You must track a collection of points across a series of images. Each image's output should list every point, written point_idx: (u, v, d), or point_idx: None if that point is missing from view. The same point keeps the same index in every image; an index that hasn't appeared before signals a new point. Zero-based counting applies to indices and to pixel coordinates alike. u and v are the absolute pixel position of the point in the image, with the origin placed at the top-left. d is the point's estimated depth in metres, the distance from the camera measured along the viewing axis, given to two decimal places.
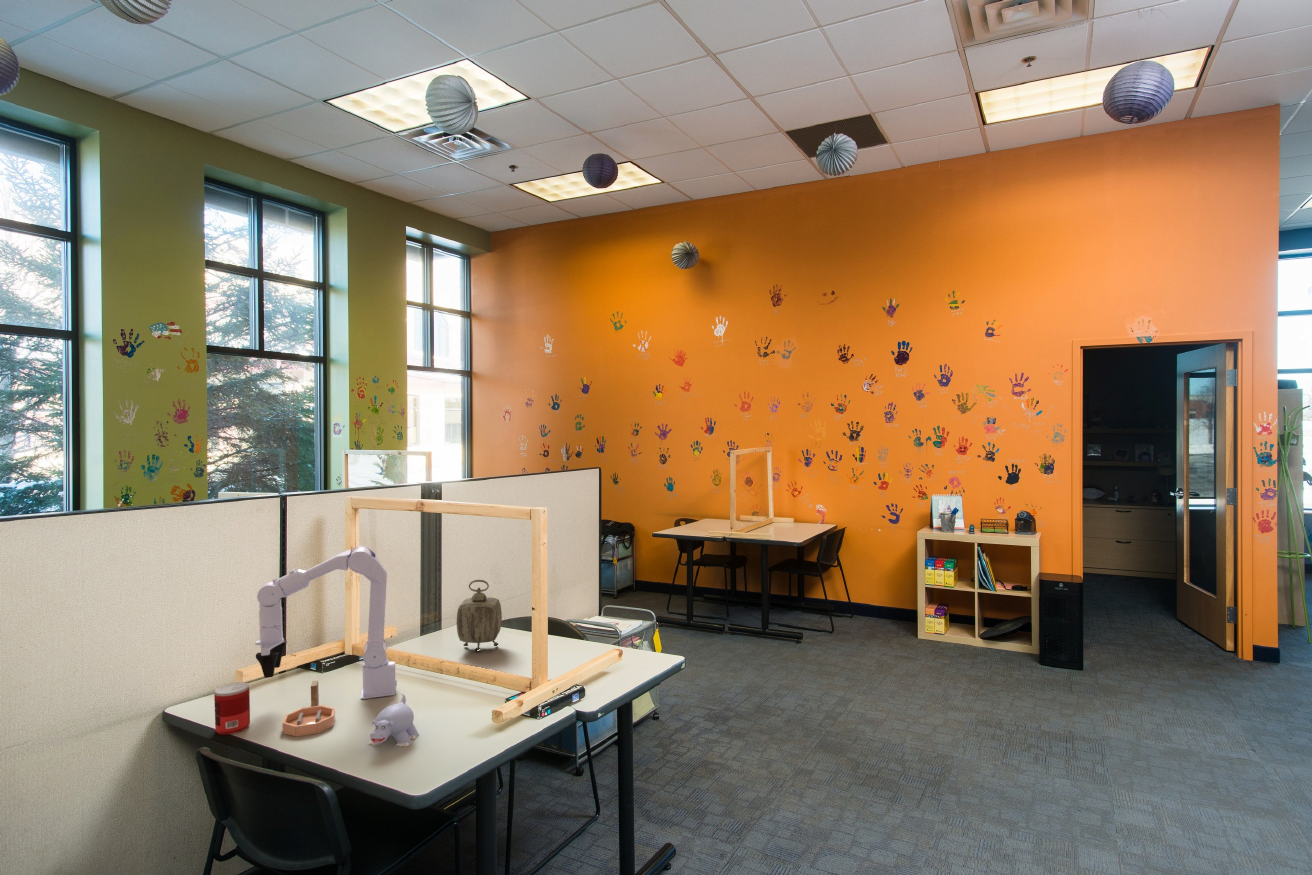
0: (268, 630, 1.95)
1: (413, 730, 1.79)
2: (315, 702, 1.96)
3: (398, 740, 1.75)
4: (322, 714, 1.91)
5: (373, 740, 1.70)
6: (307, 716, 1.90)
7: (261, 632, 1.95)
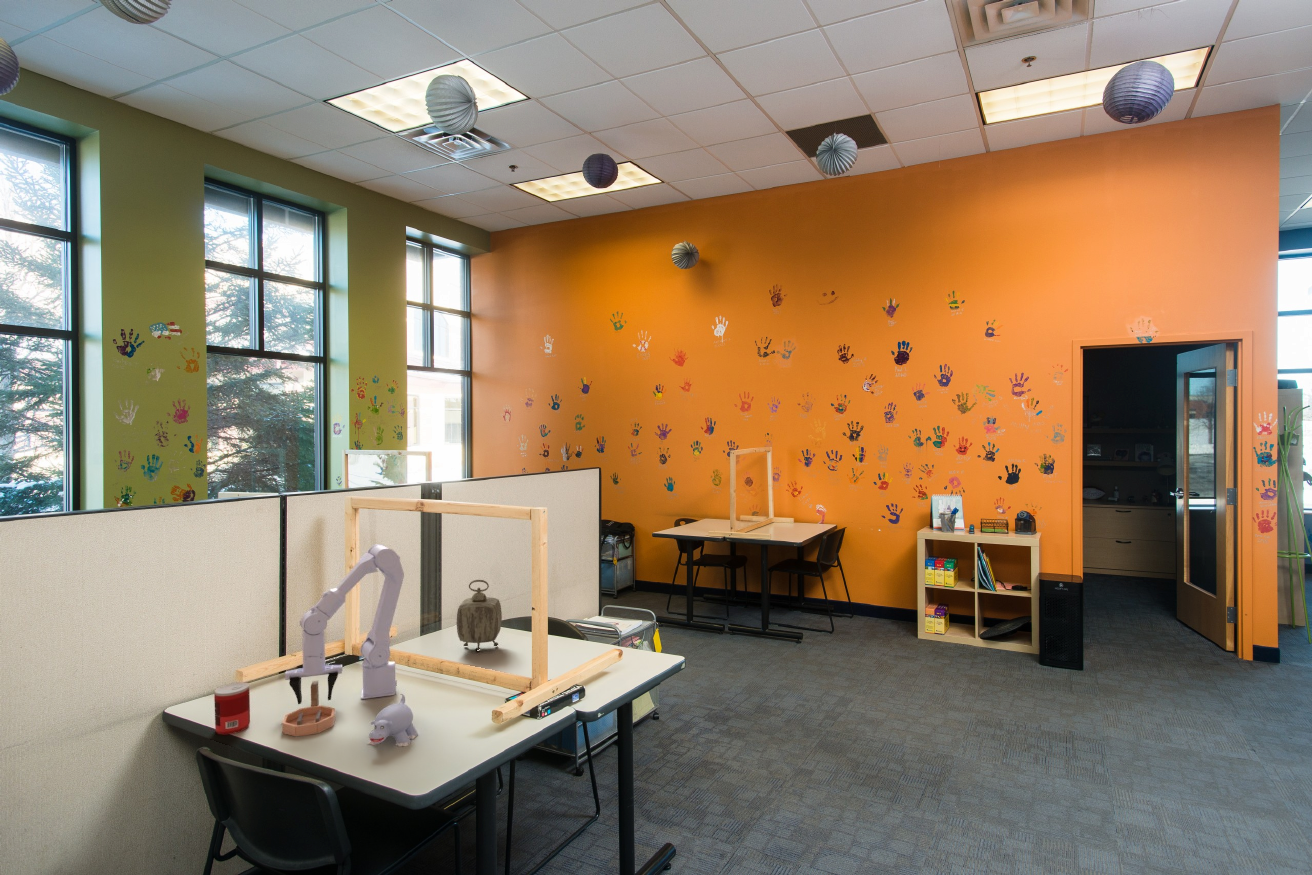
0: None
1: (412, 730, 1.80)
2: (315, 702, 1.96)
3: (397, 740, 1.75)
4: (322, 714, 1.91)
5: (372, 740, 1.70)
6: (307, 716, 1.90)
7: None
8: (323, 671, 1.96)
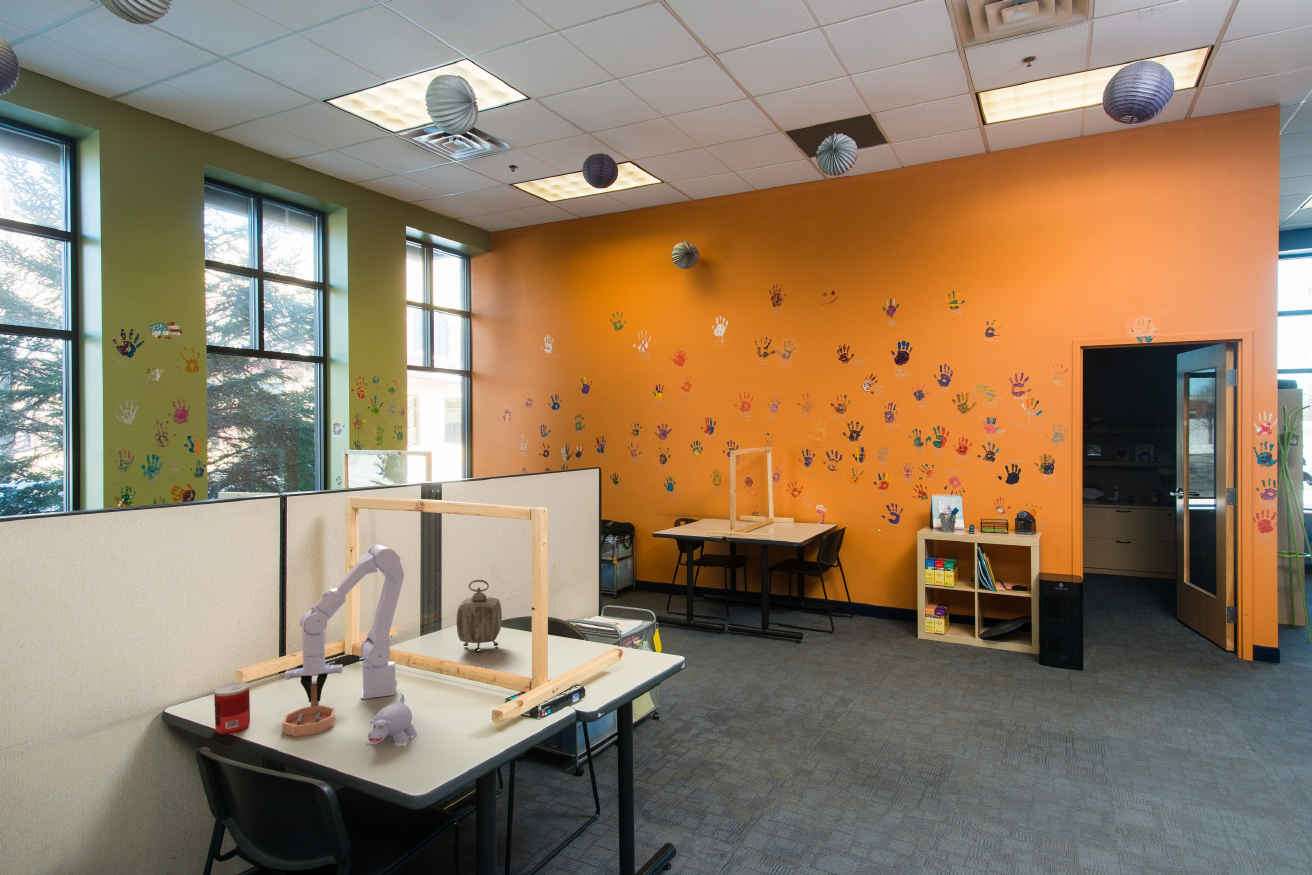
0: None
1: (411, 730, 1.80)
2: (315, 702, 1.96)
3: (396, 740, 1.75)
4: (322, 714, 1.91)
5: (371, 740, 1.70)
6: (307, 716, 1.90)
7: None
8: (323, 671, 1.96)
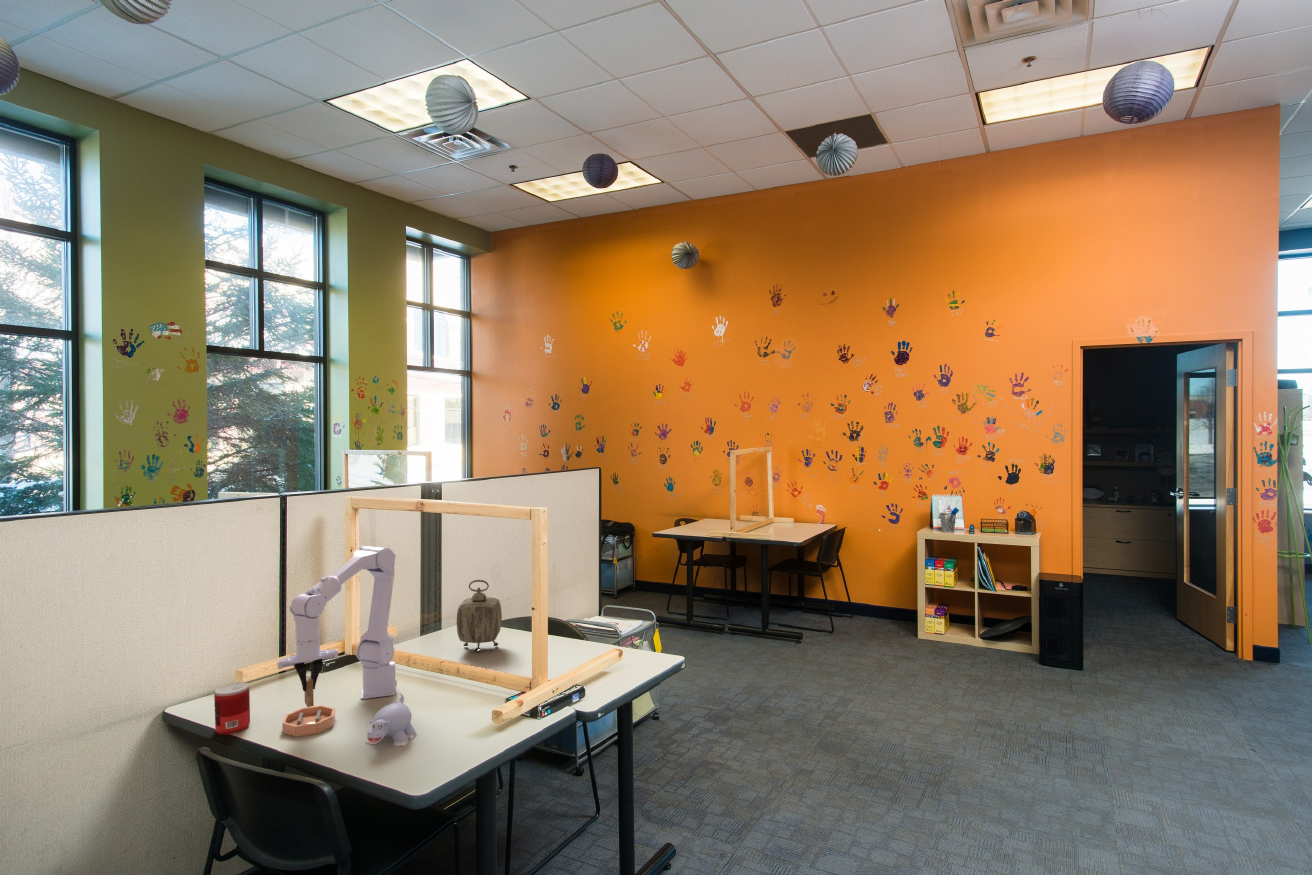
0: (296, 643, 1.84)
1: (411, 730, 1.80)
2: (311, 698, 1.85)
3: (395, 739, 1.75)
4: (322, 714, 1.91)
5: (370, 739, 1.70)
6: (307, 716, 1.90)
7: None
8: (320, 656, 1.86)
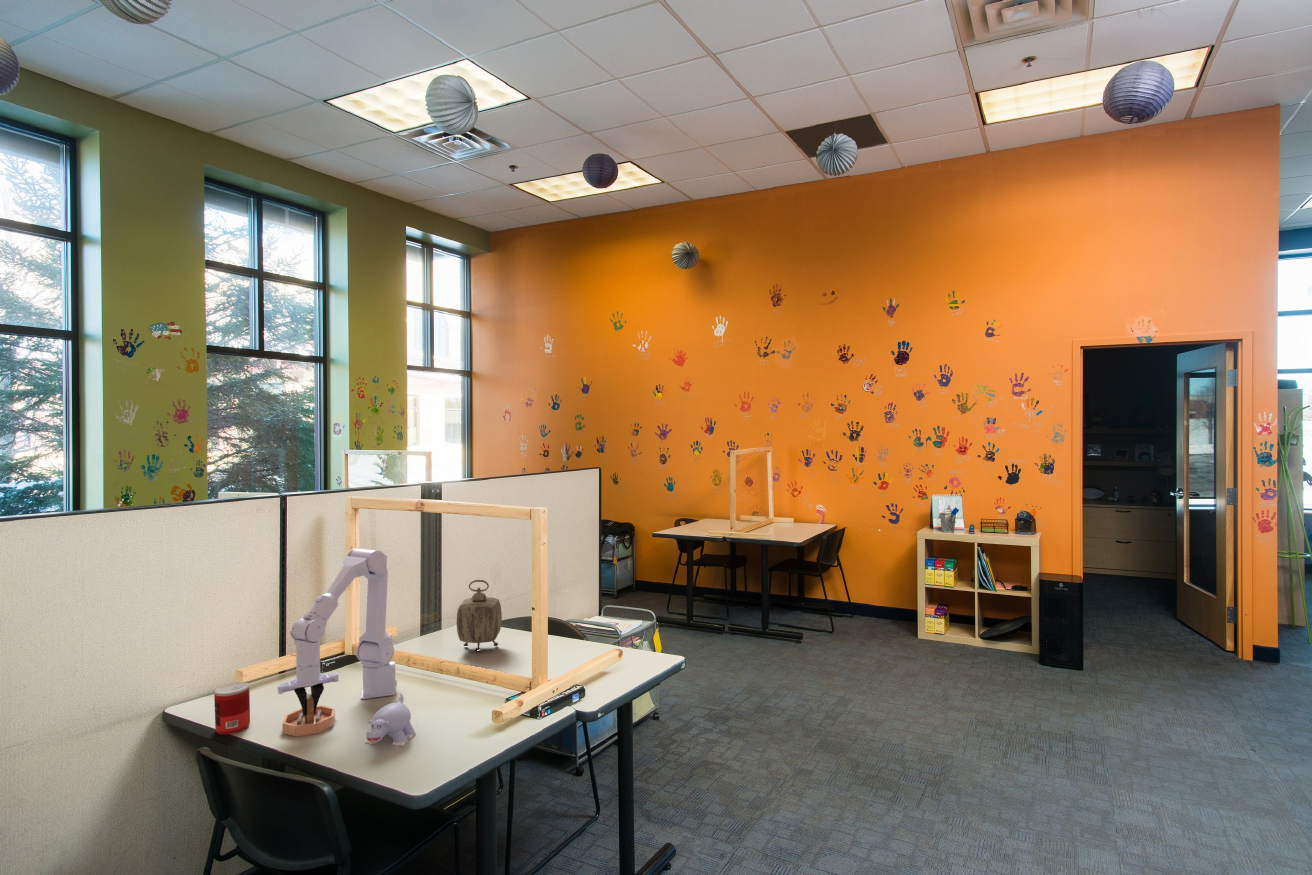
0: (296, 668, 1.84)
1: (410, 729, 1.80)
2: (312, 716, 1.85)
3: (394, 739, 1.75)
4: (322, 714, 1.91)
5: (369, 739, 1.70)
6: None
7: None
8: (320, 680, 1.86)
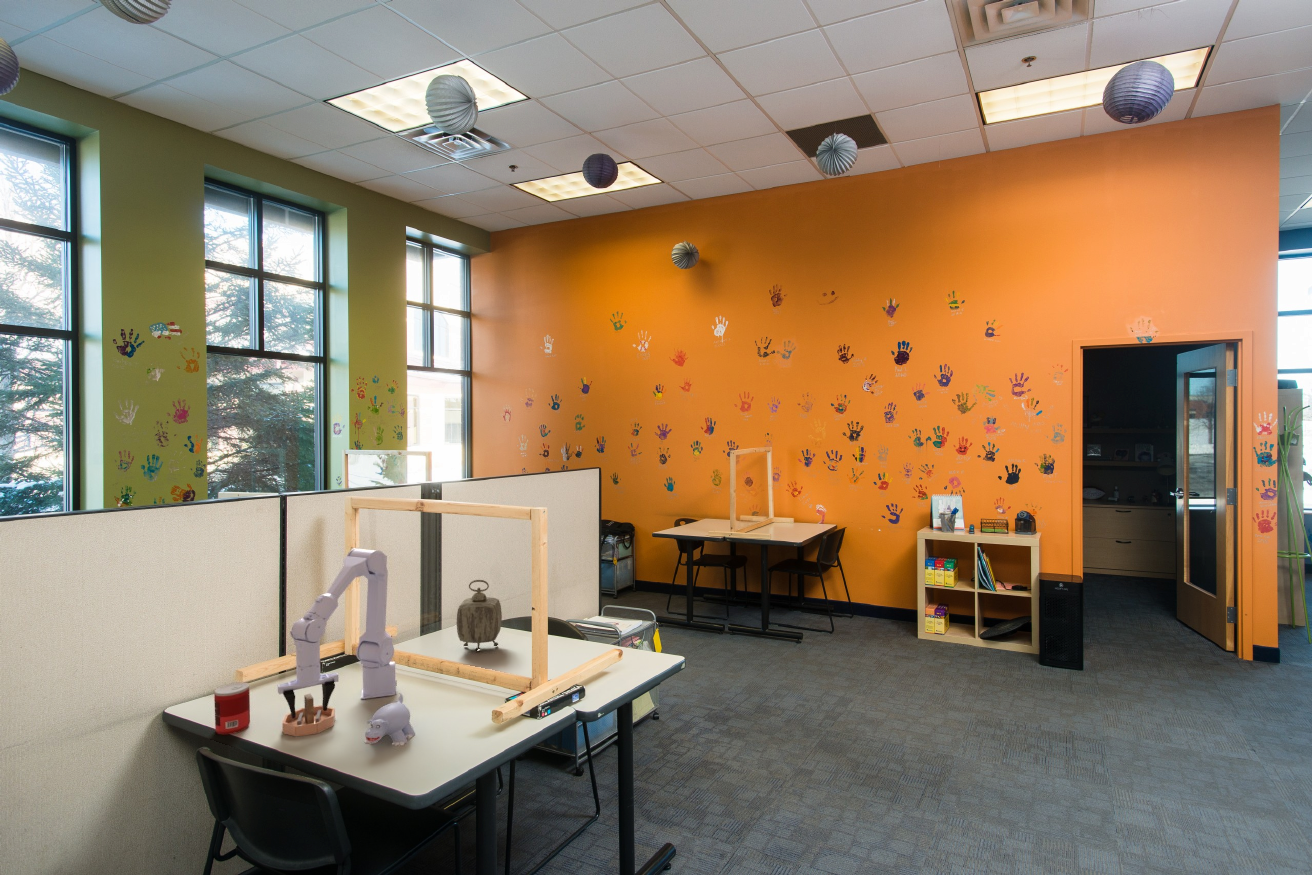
0: (296, 668, 1.84)
1: (409, 729, 1.80)
2: (312, 716, 1.85)
3: (394, 739, 1.75)
4: (322, 714, 1.91)
5: (368, 739, 1.71)
6: None
7: None
8: (321, 680, 1.86)
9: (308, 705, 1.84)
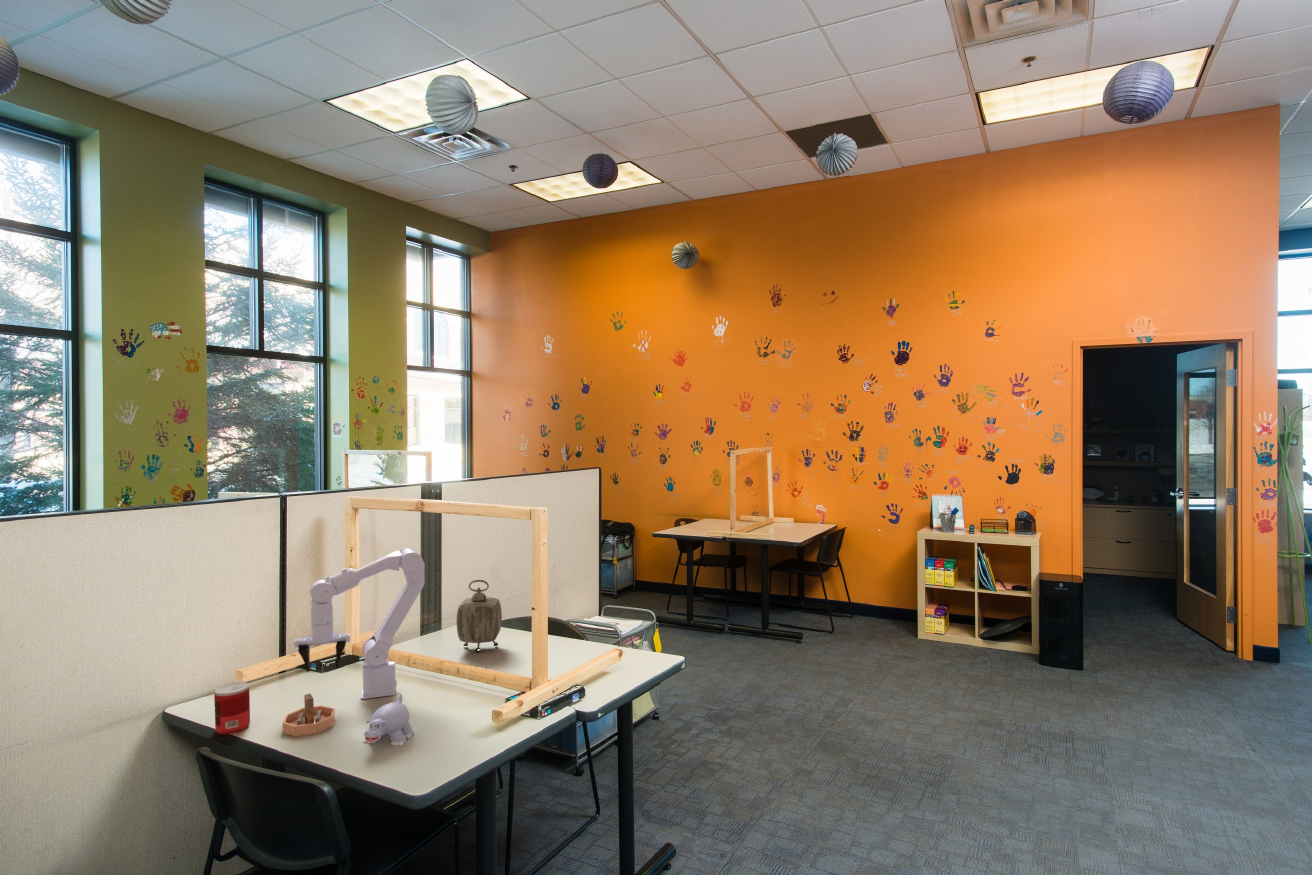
0: (311, 625, 1.99)
1: (408, 729, 1.80)
2: (312, 716, 1.85)
3: (393, 739, 1.75)
4: (322, 714, 1.91)
5: (367, 738, 1.71)
6: None
7: None
8: (331, 639, 1.99)
9: (308, 705, 1.84)
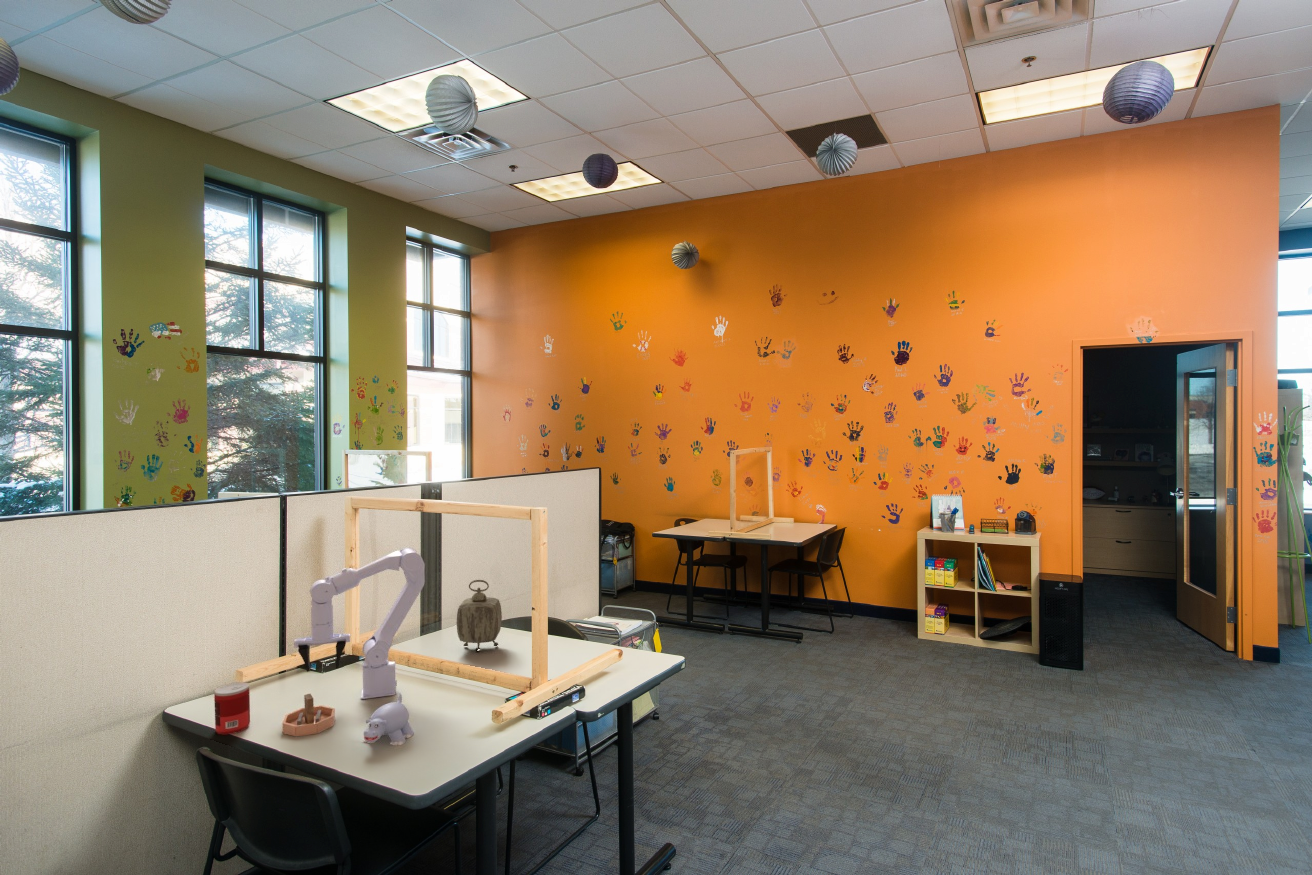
0: (311, 625, 1.99)
1: (408, 729, 1.80)
2: (312, 716, 1.85)
3: (392, 739, 1.76)
4: (322, 714, 1.91)
5: (366, 738, 1.71)
6: None
7: None
8: (331, 639, 1.99)
9: (308, 705, 1.84)
